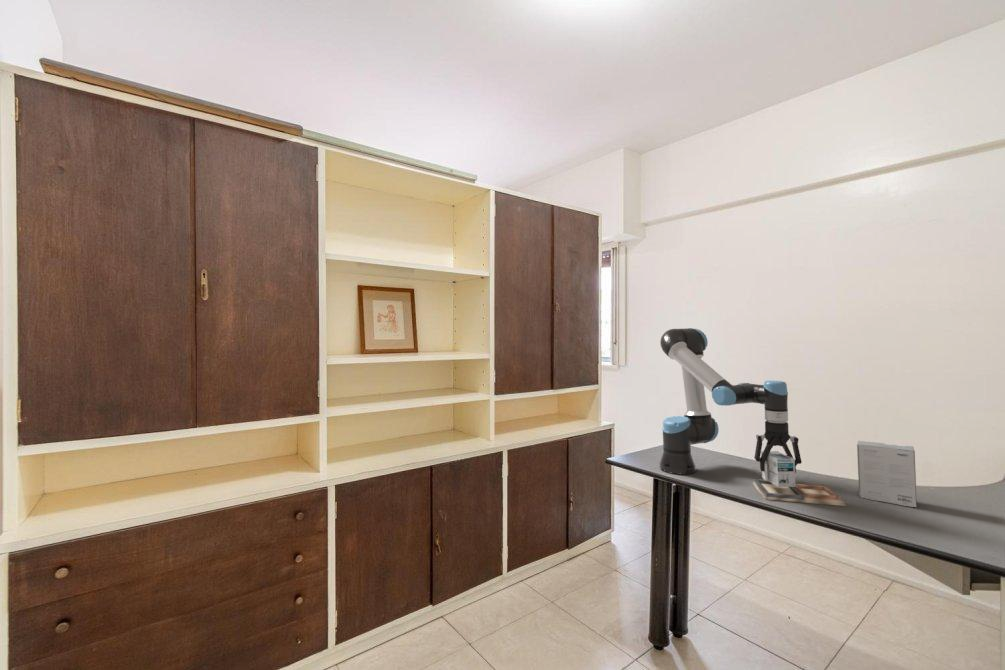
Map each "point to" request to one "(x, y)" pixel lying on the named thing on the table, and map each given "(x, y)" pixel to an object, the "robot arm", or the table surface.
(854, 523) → the table surface
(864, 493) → the hard drive box
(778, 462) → the light bulb box
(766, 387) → the robot arm
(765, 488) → the sorting board
